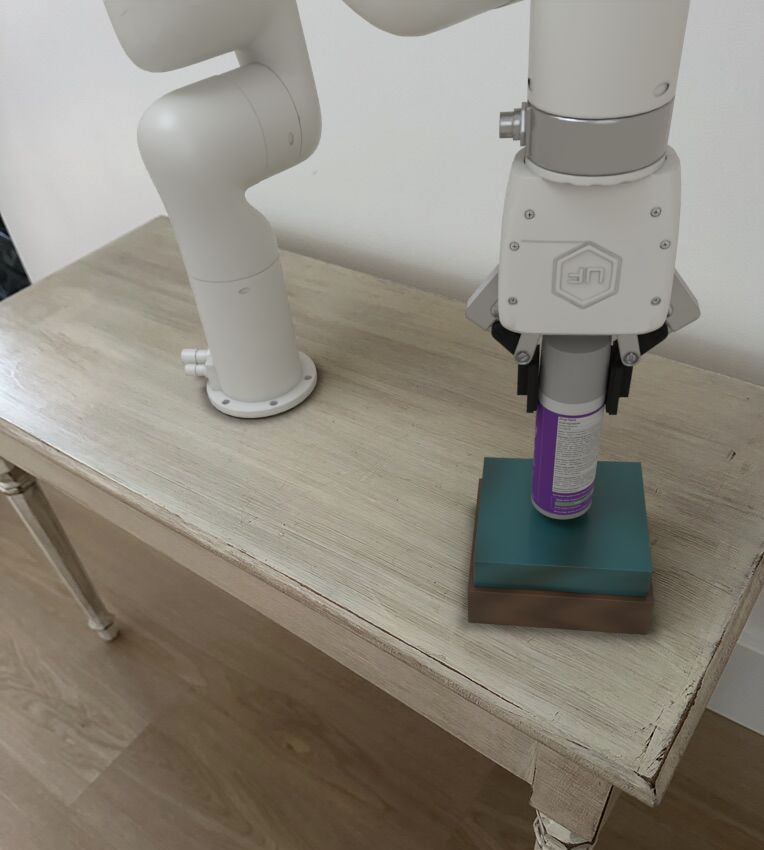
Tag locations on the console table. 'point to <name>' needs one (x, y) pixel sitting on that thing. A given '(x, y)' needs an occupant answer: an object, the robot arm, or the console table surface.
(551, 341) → the container
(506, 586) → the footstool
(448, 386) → the console table surface
